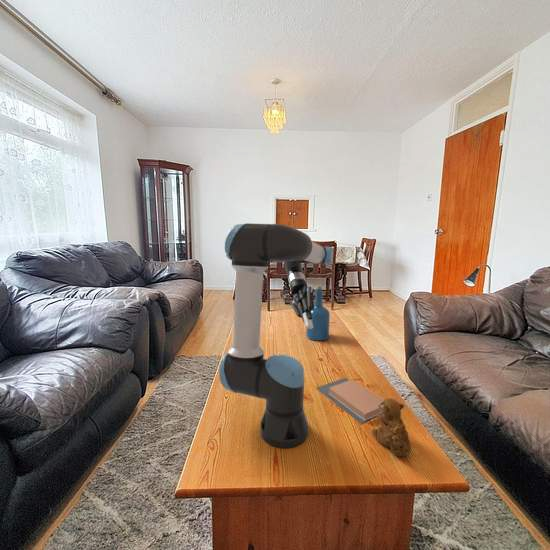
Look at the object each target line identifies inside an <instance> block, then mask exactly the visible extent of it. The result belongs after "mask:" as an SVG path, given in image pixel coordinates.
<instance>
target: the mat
mask: <svg viewBox="0 0 550 550" xmlns="http://www.w3.org/2000/svg"><path fill="white" fill-rule="evenodd" d="M349 380H350V379H348V378H347V377H343V378H340V379H336V380H335V381H332V382H329V383H326V384H323V385H320V386H317V387H315V389H316V390H317V391H319V392H320V393H321V394H323V395H324V396H325V397H326V398H328V399H329V400H330V401H331V402H333V403H334V404H335V405H336V406H338V407H339V408H340V409H342V410H343V411H344V412H345V413H347V414H348V415H349V416H350V417H352V418H353V419H354V420H356V421H357V422H358V423H359V424H361V425H363V424H366V423H367V422H369V421H372V420H374V419H375V418H376V419H377V415H376V416H374V417H372V418H370V419H368V420H365V421H364V420H363V419H361V418H360V417H359V416H358V415H356V414H355V413H354V412H352V411H351V410H350V409H348V408H347V407H346V406H344V405H343V404H342V403H340V402H339V401H338V400H336V399H335V398H334V397H333V396H331V395H330V394H329V387H332V386H335V385H338V384H341V383H344V382H346V381H349ZM381 414H382V415H384V413H381Z"/></svg>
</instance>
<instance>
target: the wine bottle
mask: <svg viewBox="0 0 550 550" xmlns="http://www.w3.org/2000/svg"><path fill="white" fill-rule="evenodd" d="M314 291H315V292H314V295H315V297H314V309H313V310H312V311H311V315H312V319H311V320H312V324H313V328H312V329H309V328H307V327H306V326H305V328H306V330H305V331H306V332H305V333H306V334H305V336H306V338H308V339H309V340H312V341H317V342H320V341H321V342H322V341H326V340H328V339H329V337H330V317H331V312H330V311H329V309H328V308H327V307H325V306H324V305H323V294H324V293H323V288H322V286H321V285H318V286H316V288H315V290H314Z"/></svg>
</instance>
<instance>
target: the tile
mask: <svg viewBox="0 0 550 550" xmlns="http://www.w3.org/2000/svg"><path fill="white" fill-rule="evenodd" d="M329 394H330V395H331V396H333V397H334V398H335V399H336V400H338V401H339V402H340V403H342V404H343V405H344V406H346V407H347V408H348V409H350V410H351V411H352V412H354V413H355V414H356V415H358V416H359V417H360V418H361V419H363V420H364V421H365V420H368V419H370V418H372V417H374V416H376V415H377V414H378V413H383V407H382V405H383V404H382V405H381V403H382V402H383V401H384V400H385V399H384V398H382V397H381V396H379V395H377V394H376V393H374V392H373V391H371V390H369V389H368V388H366V387H365V386H363V385H361V384H360V383H358V382H357V381H355V380H353V379H349V381H346V382H344V383H341V384H338V385H335V386H332V387H329ZM379 404H380V405H381V406H380V405H379ZM378 406H380V409H379V407H378ZM376 417H377V416H376Z"/></svg>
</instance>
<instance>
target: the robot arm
mask: <svg viewBox="0 0 550 550" xmlns="http://www.w3.org/2000/svg"><path fill="white" fill-rule="evenodd" d="M224 252H225V256H226V258H227V259H228V260H229V261H231V267H232V268H233V269H234V271H235V288H234V289H235V290H234V292H235V293H234V307H233V309H234V310H233V327H232V328H233V331H232V345H231V346H230V347H229V348H228V349H227V352H226V353H225V354H224V355H223V356H222V358H221V361H220V362H221V363H220V364H219V368H218V374H219V375H218V378H219V381H220V385H222V387H223V388H224V389H225V390H227V391H232V392H233V393H235V394H242V395H247V396H251V397H254V398H259V399H263V400H265V409H264V411H263V412H264V413H263V415H262V418H261V420H260V428H259V429H260V430H259V431H260V432H259V433H260V436H261V437H262V439H263V441H265V442H266V443H267V444H268V445H270V446H272V447H275V448H279V449H280V448H281V449H291V448H295V447H298V446H300V445H302V444H303V443H304V442H305V441H306V440H307V439H308V436H309V423H308V419H307V416H306V412H305V409H304V398H305V397H304V393H305V374H304V373H305V371H304V366H303V365H302V363H301V362H300V361H299V360H297V358H295V357H293V356H291V355H285V354H279V355H277V354H272V355H270V356H269V357H267V359H266V358H264V356H265V354H264V349H262V347H261V346H260V341H261V340H260V339H261V325H262V324H261V323H262V304H263V303H262V301H263V283H264V282H263V281H264V273H265V271H266V270H268V269H269V263H283V264H284V269H285V271H286V276H287V280H288V285H289V288H290V292H291V295H292V302H289V306H291V307H292V309H293V311H294V312H295V315H296V316H297V317H298V318H300V319H301V320H302V323H304V324H305V328H306V327H307V328H309V329H312V328H313V324H312V320H311V319H312V315H311V311H312V310H313V309H314V305H315V297H314V293H315V292H314V291H315V289H314V288H313V287H312V286H308V283H307V280H306V277H305V274H304V270H303V265H302V264H312V265H313V264H314V265H331V264H332V263H333V260H334V249H333V248H332V247H331V246H327V245H325V246H321V245H319V244H318V243H316V242H315V241H313V240H312V239H311V237H310V236H309V235H308V234H306V233H305V232H303V231H302V230H299V229H297V228H294V227H292V226H289V225H286V224H285V225H284V224H280V223H247V222H246V223H238V224H235V225H233V226H232V227H231V228H230V229H229V231H228V232H227V234H226V237H225V240H224Z"/></svg>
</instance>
